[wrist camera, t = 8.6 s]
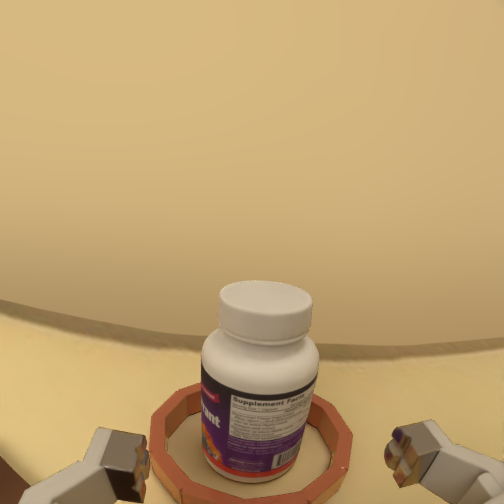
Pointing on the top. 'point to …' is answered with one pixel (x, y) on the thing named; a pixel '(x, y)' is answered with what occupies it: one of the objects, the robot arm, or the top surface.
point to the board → (10, 484)
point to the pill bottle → (257, 380)
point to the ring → (209, 500)
